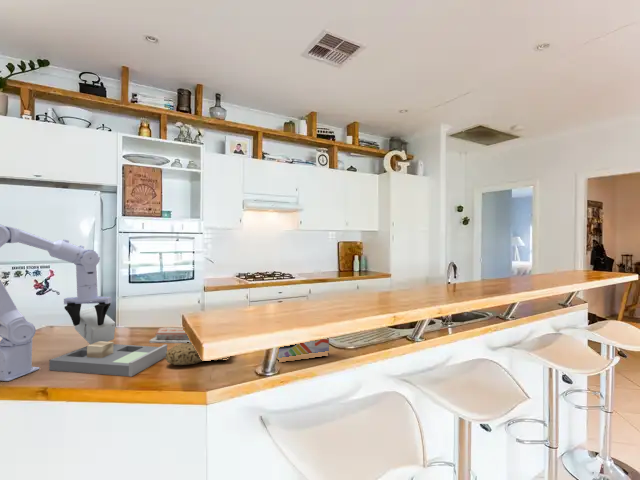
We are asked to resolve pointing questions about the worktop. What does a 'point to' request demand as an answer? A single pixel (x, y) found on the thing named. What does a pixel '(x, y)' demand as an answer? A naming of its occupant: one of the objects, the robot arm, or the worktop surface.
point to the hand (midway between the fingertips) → (88, 324)
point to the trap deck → (110, 360)
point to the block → (100, 349)
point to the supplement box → (95, 327)
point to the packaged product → (170, 336)
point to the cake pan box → (304, 348)
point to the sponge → (184, 355)
